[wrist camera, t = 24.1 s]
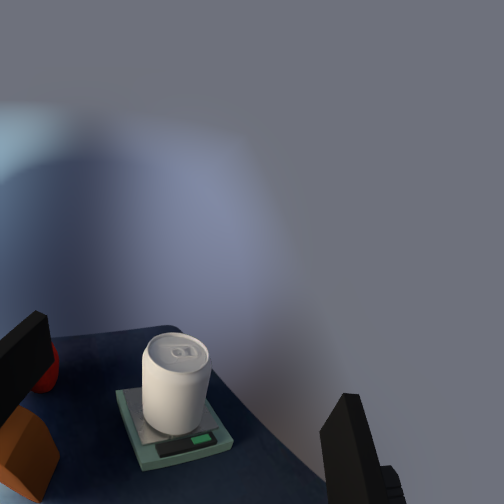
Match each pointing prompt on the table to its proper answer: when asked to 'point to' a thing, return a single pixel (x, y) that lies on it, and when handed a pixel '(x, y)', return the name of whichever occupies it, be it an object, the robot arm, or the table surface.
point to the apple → (48, 376)
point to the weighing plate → (154, 436)
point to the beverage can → (175, 382)
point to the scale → (174, 442)
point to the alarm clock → (27, 454)
